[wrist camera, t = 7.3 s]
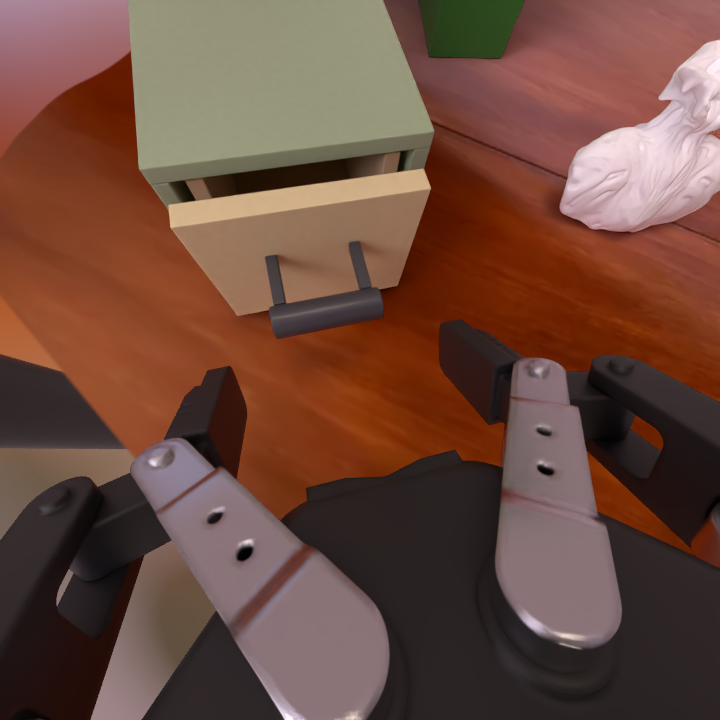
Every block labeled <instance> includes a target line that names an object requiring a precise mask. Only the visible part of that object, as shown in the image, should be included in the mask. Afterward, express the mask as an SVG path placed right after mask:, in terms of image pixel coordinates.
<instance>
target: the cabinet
mask: <svg viewBox="0 0 720 720" xmlns="http://www.w3.org/2000/svg"><path fill="white" fill-rule="evenodd" d="M128 9H129V24H130V40H131V55H132V71H133V86H134V102H135V117H136V132H137V148H138V163H139V170H140V171H141V173H142V174H143V176H144V177H145V178H146V180H147V181H148V183H149V184H151V186H152V188H153V189H154V190H155V192H156V193H157V195H158V196H159V197H160V199H161V200H162V202H163V203H164V204H165V206H166V207H167V209H168V210H169V207H168V205H171V204H178V203H185V202H192V201H196V199H195V198H194V196H193V194H192V193H191V191H190V189H189V187H188V186H187V184H186V182H185V180H189V179H196V178H204V177H211V176H218V175H226V174H233V173H241V172H248V171H256V170H263V169H271V168H278V167H286V166H293V165H301V164H308V163H316V162H323V161H331V160H338V159H346V158H353V157H360V156H368V155H375V154H383V153H390V152H398V151H400V152H401V153H400V158H399V163H398V168H397V172H403V171H410V170H417V169H424V167H425V163H426V160H427V157H428V153H429V150H430V146H431V143H432V139H433V136H434V132H435V131H434V128H433V126H432V123H431V120H430V118H429V115H428V113H427V110H426V108H425V105H424V103H423V100H422V98H421V95H420V93H419V90H418V88H417V85H416V82H415V80H414V77H413V75H412V72H411V70H410V67H409V65H408V62H407V60H406V57H405V55H404V52H403V49H402V47H401V44H400V42H399V39H398V37H397V34H396V32H395V29H394V27H393V24H392V22H391V19H390V16H389V14H388V11H387V9H386V6H385V4H384V1H383V0H128Z"/></svg>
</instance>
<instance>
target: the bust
mask: <svg viewBox="0 0 720 720" xmlns="http://www.w3.org/2000/svg"><path fill="white" fill-rule="evenodd" d="M658 99H659V100H672V101H671V103H670V104H669V105H668V106H667V108H666V109H665V110H664V111H663V112H662V113H661V114H660V115H659V116H657V117H655V118H654V119H652V120H651V121H650V122H648V123H641V124H638V125H637V126H635V127H625V128H620V129H617V130H614V131H611V132H608V133H606V134H604V135H602V136H601V137H600V138H598V139H596V140H594V141H592V142H591V143H590V144H589V145H588V146H584V147H582V148H581V149H579V150H578V151H577V153H576V155H575V157H574V159H573V161H572V162H571V164H570V167H569V170H568V179H567V182H566V186H565V189H564V193H563V196H562V198H561V202H560V206H559V208H560V211H561V213H562V214H564V215H566V216H569V217H571V218H573V219H577V220H580V221H581V222H583V223H584V224H585V225H587V226H588V227H589V228H590V229H594V230H597V229H604V230H608V231H617V232H626V231H629V232H636V231H640V230H642V229H645V228H647V227H649V226H651V225H658V224H663V223H669V222H673V221H675V220H677V219H679V218H681V217H683V216H685V215H687V214H690V213H692V212H694V211H696V210H698V209H700V208H701V207H703V206H704V205H705V204H706V203H708V202H709V200H710V198H711V197H712V195H713V194H715V193H717V192H719V191H720V140H719V139H718V138H716V137H715V136H714V135H710V134H709V135H707V134H708V133H709V132H710V131H714V130H717V129H719V128H720V40H717V41H711V42H708V43H706V44H704V45H703V46H702V47H701V48H700V49H699V50H698V51H697V52H695V53H694V54H693V55H692V56H691V57H690V58H688V59H687V60H686V61H685V62H684V63H683V64H682V65H680V66H679V67H678V68H677V70H676V71H675V72H674V74H673V77H672V78H671V80H670V82H669V83H668V85H667V86H666V88H665V89H664V91H663V92H662V93H661V94H660V96H659V97H658Z"/></svg>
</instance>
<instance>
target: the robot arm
mask: <svg viewBox="0 0 720 720" xmlns="http://www.w3.org/2000/svg"><path fill="white" fill-rule="evenodd" d="M439 361H440V366H441V369H442V371H443V373H444V374H445V375H446V376H447V377H448V379H449V380H450V381H451V382H452V383H453V384H454V385H455V387H456V388H457V389H458V390H459V391H460V392H461V393H462V395H463V396H464V397H465V398H466V399H467V400H468V402H469V403H470V404H471V405H472V406H473V407H474V408H475V410H476V411H477V412H478V413H479V414H480V415H481V417H482V418H483V419H484V420H485V421H486V422H487V423H488V425H491V424H495V423H499V422H503V423H504V424H505V428H504V436H503V444H502V453H501V462H500V467H499V466H496V465H492V464H488V463H484V462H478V461H462V459H461V458H460V456H459V455H458V453H457V452H456V450H452V451H448V452H444V453H441V454H437V455H433V456H429V457H425V458H421V459H419V460H417V461H415V462H413V463H411V464H409V465H407V466H405V467H403V468H401V469H400V470H398V471H396V472H394V473H392V474H390V475H388V476H384V477H364V478H344V479H340V480H336V481H332V482H328V483H324V484H320V485H316V486H312V487H309V488H306V491H307V501H306V502H304V503H302V504H301V505H299V506H298V507H296V508H295V509H293V510H292V511H290V512H289V513H288V514H287V515H285V516H284V517H283V518H282V519H281V520H280V521H279V520H278V519H277V518H276V517H275V516H274V515H273V514H272V513H271V512H270V511H269V510H268V509H267V508H266V507H265V506H264V505H263V504H261V503H260V502H259V501H258V500H257V499H256V498H255V497H254V496H253V495H252V494H251V493H250V492H249V491H248V490H247V489H246V488H245V487H243V486H242V485H241V484H240V483H239V482H238V481H237V480H236V479H237V473H238V467H239V461H240V455H241V449H242V444H243V438H244V432H245V426H246V420H247V408H246V403H245V400H244V397H243V395H242V392H241V390H240V387H239V384H238V382H237V379H236V376H235V374H234V371H233V369H232V368H231V367H230V366H227V367H222V368H217V369H212V370H208V371H207V373H206V375H205V377H204V379H203V382H202V384H201V386H196V387H194V388H193V389H192V390H191V391H190V392H189V393H188V394H187V395H186V396H185V397H184V399H183V401H182V403H181V405H180V408H179V409H178V411H177V413H176V416H175V418H174V420H173V422H172V424H171V426H170V428H169V430H168V432H167V434H166V436H165V438H164V440H163V441H160V442H158V443H156V444H154V445H152V446H150V447H149V448H147V449H146V450H145V451H143V452H142V453H141V454H140V455H139V456H138V457H137V458H136V459H135V460H134V462H133V463H132V465H131V468H130V473H128V474H126V475H124V476H122V477H120V478H117V479H115V480H113V481H111V482H108V483H106V484H104V485H102V486H99V487H97V486H96V485H95V483H94V482H93V481H92V480H91V479H90V478H88V477H83V476H82V477H75V478H71V479H68V480H65V481H62V482H60V483H58V484H56V485H54V486H52V487H51V488H49V489H47V490H46V491H44V492H43V493H41V494H40V495H39V496H37V497H36V498H35V499H34V500H33V501H32V502H30V503H29V504H28V505H27V506H26V508H25V509H24V510H23V511H22V513H21V514H20V515H19V516H18V518H17V519H16V520H15V522H14V523H13V525H12V526H11V527H10V528H9V530H8V531H7V532H6V534H5V535H4V536H3V538H2V539H1V540H0V720H90V719H91V716H92V713H93V710H94V707H95V704H96V701H97V698H98V695H99V692H100V689H101V686H102V682H103V680H104V677H105V674H106V671H107V668H108V665H109V661H110V658H111V655H112V652H113V649H114V646H115V643H116V640H117V637H118V634H119V631H120V628H121V625H122V622H123V619H124V616H125V613H126V610H127V607H128V603H129V601H130V598H131V594H132V591H133V588H134V585H135V582H136V579H137V576H138V573H139V570H140V567H141V564H142V561H143V557H144V555H145V554H147V553H149V552H151V551H152V550H154V549H156V548H158V547H160V546H162V545H164V544H165V543H167V542H169V541H171V540H172V541H173V543H174V544H175V546H176V547H177V549H178V550H179V552H180V554H181V555H182V557H183V558H184V560H185V562H186V563H187V565H188V566H189V568H190V569H191V571H192V573H193V574H194V575H195V577H196V579H197V580H198V582H199V583H200V585H201V587H202V588H203V590H204V591H205V593H206V594H207V596H208V598H209V599H210V601H211V602H212V604H213V605H214V607H215V609H216V611H215V613H214V614H213V616H212V617H211V619H210V620H209V621H208V623H207V625H206V626H205V627H204V629H203V631H202V632H201V633H200V635H199V636H198V638H197V639H196V641H195V642H194V643H193V645H192V647H191V648H190V649H189V651H188V652H187V654H186V655H185V657H184V658H183V660H182V661H181V663H180V664H179V666H178V667H177V669H176V670H175V671H174V673H173V674H172V676H171V677H170V679H169V680H168V682H167V683H166V685H165V686H164V688H163V689H162V691H161V692H160V694H159V695H158V696H157V698H156V699H155V701H154V702H153V704H152V705H151V707H150V708H149V710H148V711H147V713H146V714H145V716H144V717H143V719H142V720H720V402H718V401H716V400H714V399H712V398H710V397H708V396H706V395H704V394H702V393H701V392H699V391H697V390H695V389H693V388H691V387H689V386H687V385H685V384H683V383H681V382H679V381H678V380H676V379H674V378H672V377H670V376H668V375H666V374H664V373H662V372H660V371H658V370H656V369H655V368H653V367H651V366H649V365H647V364H645V363H643V362H641V361H639V360H636V359H633V358H630V357H625V356H619V355H603V356H598V357H596V358H594V359H593V360H592V364H591V367H590V371H573V372H565V369H564V368H563V367H562V366H561V365H559V364H558V363H556V362H554V361H551V360H548V359H543V358H524V357H522V356H521V355H519V354H518V353H516V352H515V351H514V350H512V349H511V348H509V347H508V346H506V345H504V344H503V343H502V342H501V341H499V340H497V339H496V338H495V337H494V336H492V335H491V334H489V333H488V332H485V331H482V330H479V329H476V328H475V329H474V328H472V327H471V326H470V325H468V324H467V323H466V322H464V321H463V320H461V319H459V320H454V321H449V322H444V323H441V325H440V329H439ZM636 415H637V416H639V417H640V418H642V419H643V420H644V421H646V422H647V423H649V424H650V425H652V426H653V427H654V428H656V429H657V430H658V431H659V433H660V434H661V436H662V438H663V442H664V446H663V449H662V451H659V450H658V449H657V448H655V447H654V446H653V445H651V444H650V443H649V442H647V441H646V440H645V439H643V438H642V437H641V436H639V435H638V434H637V433H635V432H634V431H633V430H631V429H630V428H631V426H632V423H633V421H634V418H635V416H636ZM586 450H587V451H588V452H589V453H590V454H591V455H592V456H593V457H595V458H596V459H597V460H598V461H599V462H600V463H601V464H602V465H603V466H604V467H605V468H606V469H607V470H608V471H609V472H611V473H612V474H613V475H614V476H615V477H616V478H617V479H618V480H619V481H620V482H621V483H622V484H623V485H624V486H625V487H626V488H628V489H629V490H630V491H631V492H632V493H633V494H634V495H635V496H636V497H637V498H638V499H639V500H640V501H641V502H642V503H643V504H645V505H646V506H647V507H648V508H649V509H650V510H651V511H652V512H653V513H654V514H655V515H656V516H657V517H658V518H659V519H660V520H662V521H663V522H664V523H665V524H666V525H667V526H668V527H669V528H670V529H671V530H672V531H673V532H674V533H675V534H676V535H678V536H679V537H680V538H681V539H682V540H683V541H684V542H685V543H686V544H687V545H688V546H689V547H690V548H691V549H692V551H693V554H694V556H693V555H691V554H689V553H686V552H684V551H682V550H680V549H678V548H676V547H673V546H671V545H669V544H667V543H665V542H663V541H660V540H658V539H656V538H654V537H652V536H650V535H647V534H645V533H643V532H641V531H639V530H637V529H634V528H632V527H630V526H628V525H626V524H624V523H621V522H619V521H617V520H615V519H613V518H611V517H608V516H606V515H604V514H602V513H600V512H598V511H597V510H596V504H595V498H594V493H593V487H592V481H591V475H590V469H589V464H588V458H587V452H586ZM68 569H70V570H71V571H72V572H73V573H74V574H73V576H72V578H71V580H70V582H69V584H68V586H67V588H66V590H65V592H64V594H63V596H62V598H61V600H60V602H59V604H58V606H57V605H56V597H57V592H58V589H59V587H60V585H61V583H62V581H63V579H64V577H65V575H66V573H67V571H68Z"/></svg>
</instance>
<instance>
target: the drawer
mask: <svg viewBox="0 0 720 720" xmlns="http://www.w3.org/2000/svg"><path fill="white" fill-rule="evenodd" d="M400 153H401V152H400V151H398V152H390V153H383V154H375V155H368V156H360V157H353V158H346V159H338V160H331V161H323V162H316V163H308V164H301V165H293V166H286V167H278V168H271V169H263V170H256V171H248V172H241V173H233V174H226V175H218V176H211V177H204V178H196V179H189V180H185V182H186V184H187V186H188V187H189V189H190V191H191V193H192V194H193V196H194V198H195V199H196V201H192V202H185V203H178V204H171V205H168V207H169V218H170V228H171V229H172V230H173V232H174V233H175V234H176V236H177V237H178V238H179V240H180V241H181V242H182V244H183V245H184V246H185V248H186V249H187V250H188V251H189V253H190V254H191V255H192V257H193V258H194V259H195V261H196V262H197V263H198V265H199V266H200V267H201V269H202V270H203V271H204V272H205V274H206V275H207V276H208V278H209V279H210V280H211V282H212V283H213V284H214V286H215V287H216V288H217V289H218V291H219V292H220V293H221V295H222V296H223V297H224V299H225V300H226V301H227V303H228V304H229V305H230V307H231V308H232V309H233V310H234V312H235V313H236V314H237V316H240V315H245V314H251V313H256V312H261V311H267V310H269V315H270V320H271V325H272V328H273V332H274V335H275V337H276V338H277V339H280V338H285V337H290V336H295V335H300V334H305V333H310V332H315V331H320V330H325V329H330V328H335V327H340V326H345V325H350V324H355V323H360V322H365V321H370V320H375V319H380V318H383V314H384V307H383V300H382V296H381V293H380V290H379V289H384V288H389V287H394V286H398V283H399V280H400V277H401V274H402V271H403V268H404V266H405V263H406V260H407V257H408V254H409V251H410V248H411V245H412V242H413V239H414V236H415V234H416V231H417V228H418V225H419V222H420V219H421V216H422V213H423V210H424V207H425V205H426V202H427V199H428V196H429V193H430V190H431V187H430V184H429V182H428V179H427V176H426V173H425V171H424V169H417V170H410V171H403V172H397V168H398V163H399V158H400Z"/></svg>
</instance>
